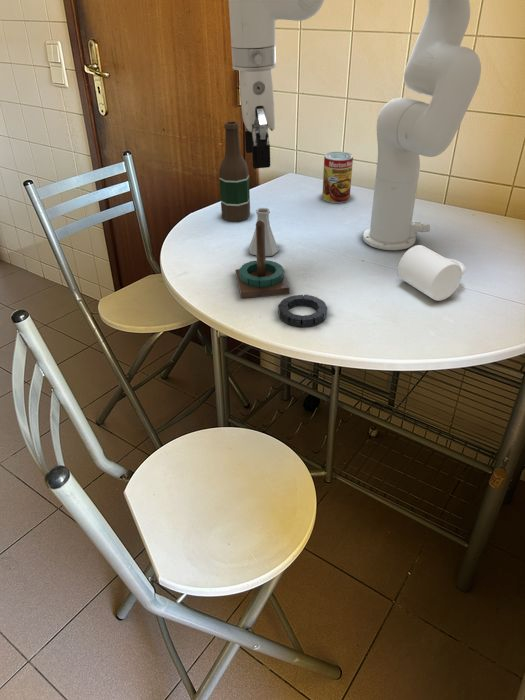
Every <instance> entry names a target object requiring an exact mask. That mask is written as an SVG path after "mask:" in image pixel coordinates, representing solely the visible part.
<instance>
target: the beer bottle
mask: <svg viewBox="0 0 525 700" xmlns="http://www.w3.org/2000/svg"><path fill="white" fill-rule="evenodd" d="M223 128H224V129H225V131H224V132H225V133H224V134H225V135H224V137H225V140H224V141H225V142H224V143H225V144H224V145H225V146H224V147H225V149H224V150H225V151H224V158H223V159H222V162H221V163H220V165H219V174H218V178H219V179H218V180H219V195H220V196H219V197H220V211H221V217H222V219H223V220H225V221H227V222H231V223H232V222H233V223H240V222H243V221H246V220H248V219H249V216H250V215H251V196H250V195H251V194H250V193H251V191H250V171H249V166H248V164H247V161H246V160H245V158H244V157H243V156H242V151H241V141H240V134H239V128H240V124H239V122H237V121H232V120H231V121H226V122H225V123H224V126H223Z"/></svg>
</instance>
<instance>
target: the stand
mask: <svg viewBox="0 0 525 700" xmlns="http://www.w3.org/2000/svg"><path fill="white" fill-rule="evenodd" d="M255 229H256V250H257V255H256V260H257V270H255V271H253V272H250V273H249V274H250V275H252V276H257V277H266V276H270V275H272V274H274V273H273V272H271V271H269V270H266V262H265V260H266V256H265V223H264V222H263V221H262V220H259V221H257V220H256V222H255ZM239 269H240V268H237V269H235V271H234V272H235V278H236V282H237V287H238V291H239V295H240V299H249V298H257V297H258V298H259V297H269V296H279V295H289V294H290V286H289V283H288V281H287V278H286V275H284V278H283V279H282V281H281V282H280V283H278V284H276V285H273V286H270V287H253V286H249V285H246V284H245V283H243V282H242V281H241V280H240V276H239Z"/></svg>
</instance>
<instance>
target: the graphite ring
mask: <svg viewBox="0 0 525 700" xmlns="http://www.w3.org/2000/svg"><path fill="white" fill-rule="evenodd" d="M299 306H300V307H301V306H304V307H311V308H312V309H314V310H315V312H313V313H311V314H305V315H301V314H296V313H293V312H291V311H290V309H292V308H294V307H299ZM277 314H278V316H279V320H281V321H282V322H284V323H285V324H287V325H289V326H292V327H298V328H307V327H315V326H317V325H319V324H321V323H323V322H324V321H325V319H326V318H327V315H328V306H327V304H326V301H324V300H323V299H321V298H320V297H317V296H315V295H309V294H294V295H293V294H292V295H290V296H288V297H286V298H283V299H282V300H281V301H280V303H279V304H278V306H277Z"/></svg>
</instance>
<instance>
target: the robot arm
mask: <svg viewBox="0 0 525 700" xmlns="http://www.w3.org/2000/svg"><path fill="white" fill-rule="evenodd" d="M324 2H325V0H228V12H229V13H228V14H229V28H230V46H231V49H230V50H231V65H232V70H235V71H238V73H239V93H240V95H239V96H240V107H241V115H242V116H241V117H242V121H243V124H244V128H245V129H244V130H245V131H244V142H245V153H247V154H251V156H252V167H253V169H266V168H270V167H271V144H270V136H269V135H270V134H269V130H270V131H271V132H273V131H274V130H275V129H276V120H275V102H274V101H275V100H274V98H275V97H274V83H273V76H272V75H273V74H272V70H273V69H275V68H277V54H276V53H277V51H276V50H277V49H276V47H277V46H276V21H278V20H286V21H295V22H302V21H307V20H309V19H311V18H313V17H314V16H315V15H317V13H318V12H320V10H321V8H322V6H323V4H324ZM470 20H471V3H470V0H427V10H426V14H425V18H424V21H423V23H422V25H421V28H420V32H419V34H418V36H417V38H416V40H415V43H414V46H413V48H412V51H411V53H410V54H409V55H410V56H409V58H408V60H407V63H406V66H405V69H404V74H403V82H404V84H405V86H406V88H407V89H408V90H410V91H411V92H412V93H416V94H418V95H422V96H426V97H430V98H431V99H430V102H429V103H428V102H425V101H421V100H417V99H412V98H407V97H396V98H393V99H390V100H389V101H388V102H386V103H385V104H384V105H383V107H382V108H381V110H380V111H379V114H378V116H377V119H376V142H377V161H376V162H377V163H376V170H375V171H376V172H375V180H374V189H373V190H374V191H373V198H372V207H371V208H372V209H371V215H370V227H368V228H367V229H366V228H365V230H364V231H363V233H362V240H363V242H364V243H365V244H367V245H368V246H369V247H372V248H375V249H378V250H385V251H401V250H407V249H410V248H412V247H413V246H414V244H415V243H416V239H417V237H416V235H417V234H418V233H429V232H430V231H431V224H430V223H422V222H421V221H420V220H417V221H413V215H414V209H415V202H416V195H417V190H418V184H419V179H420V178H419V177H420V172H421V158H420V156H422V157H427V158H433V157H434V158H435V157H437V156H440V155H441V154H443V153H444V152H445V151H446V150H447V149H448V147H449V146H450V145H451V143H452V142H453V140H454V138H455V136H456V134H457V132H458V130H459V128H460V126H461V124H462V121H463V120H464V117H465V116H466V113H467V112H468V108H469V106H470V104H471V103H472V100H473V98H474V96H475V93H476V92H477V89H478V86H479V83H480V81H481V80H480V79H481V74H482V62H481V59H480V56H479V55H478V54H477V52H476V51H475V50H474V49H471V48H470V47H468V46H467V47H466V46H461V45H462V42H463V40H464V37H465V34H466V33H467V30H468V27H469V24H470Z"/></svg>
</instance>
